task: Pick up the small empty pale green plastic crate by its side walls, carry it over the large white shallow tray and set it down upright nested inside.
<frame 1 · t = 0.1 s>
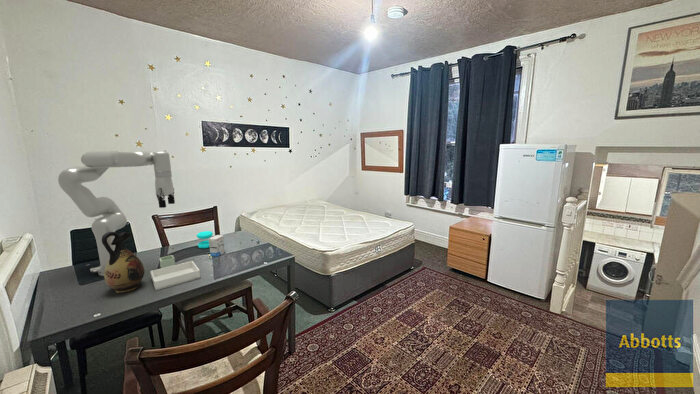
hand: (167, 205, 154), 37 cm above the table, tool pointing down, fingers open, 9 cm apart
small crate: (168, 267, 162), on the table
donuts: (206, 246, 195), on the table
white shallow tray: (176, 278, 149), on the table
ceramic jug: (125, 289, 138), on the table
ink box: (217, 254, 182), on the table
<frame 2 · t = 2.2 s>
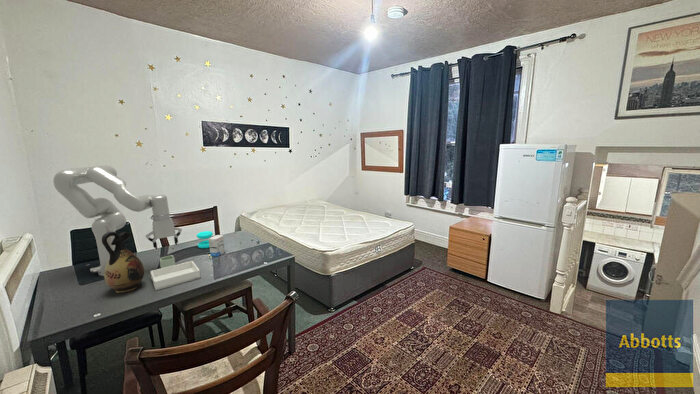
hand: (166, 246, 159), 13 cm above the table, tool pointing down, fingers open, 9 cm apart
nothing on the table moved.
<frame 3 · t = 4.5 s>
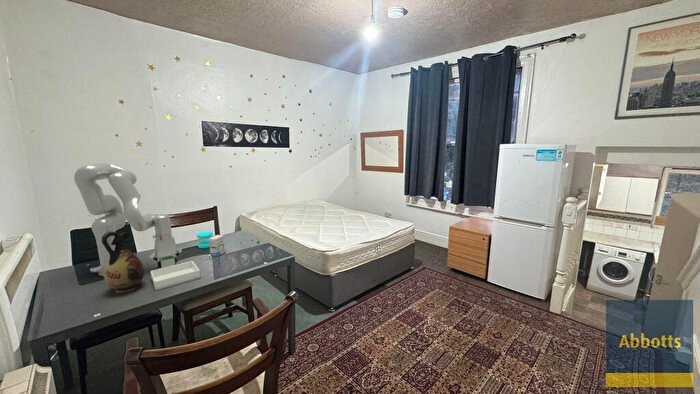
hand: (167, 265, 161), 1 cm above the table, tool pointing down, fingers closed on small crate, 6 cm apart
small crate: (168, 267, 162), on the table, touching gripper
everything else where it was.
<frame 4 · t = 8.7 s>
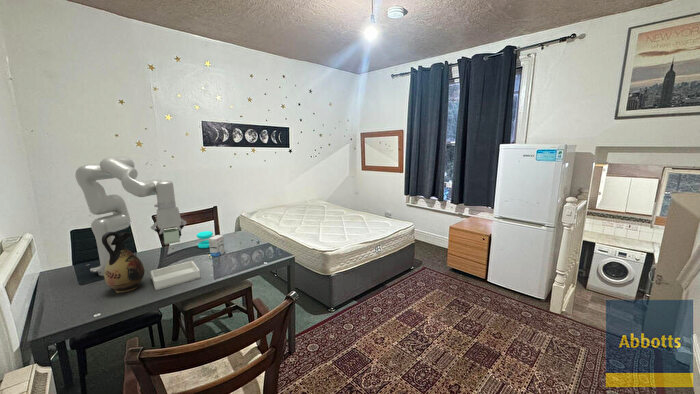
hand: (171, 238, 145), 22 cm above the table, tool pointing down, fingers closed on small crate, 6 cm apart
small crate: (171, 241, 145), point 21 cm above the table, touching gripper
everything else where it was.
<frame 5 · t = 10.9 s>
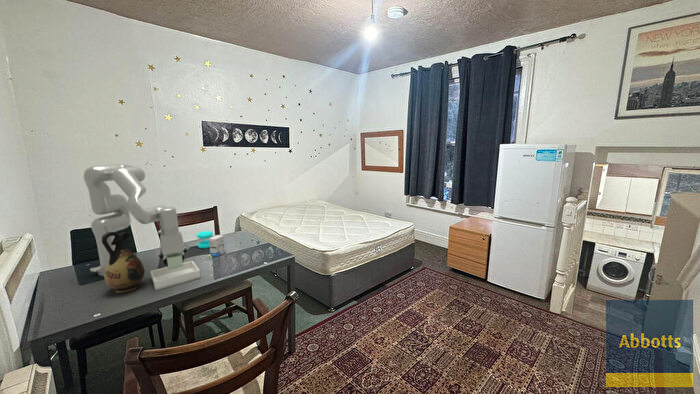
hand: (174, 263, 147), 9 cm above the table, tool pointing down, fingers closed on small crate, 6 cm apart
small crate: (174, 266, 147), point 7 cm above the table, touching gripper
everything else where it was.
when the fingers open (4 cm above the table, at t = 12.8 s): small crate drops 2 cm, resting on white shallow tray.
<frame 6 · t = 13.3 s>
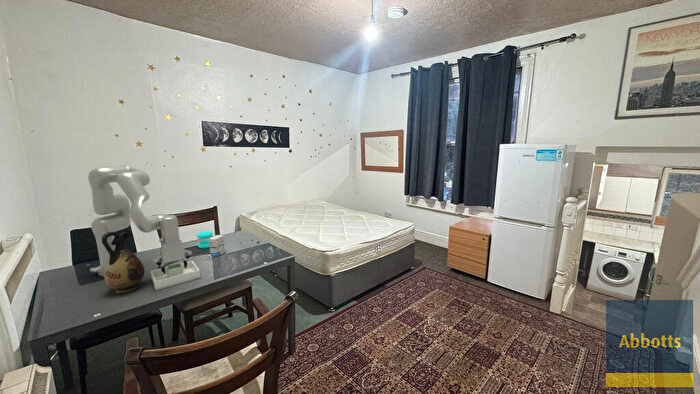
hand: (175, 270, 148), 5 cm above the table, tool pointing down, fingers open, 9 cm apart
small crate: (175, 276, 149), point 1 cm above the table, touching white shallow tray
everything else where it was.
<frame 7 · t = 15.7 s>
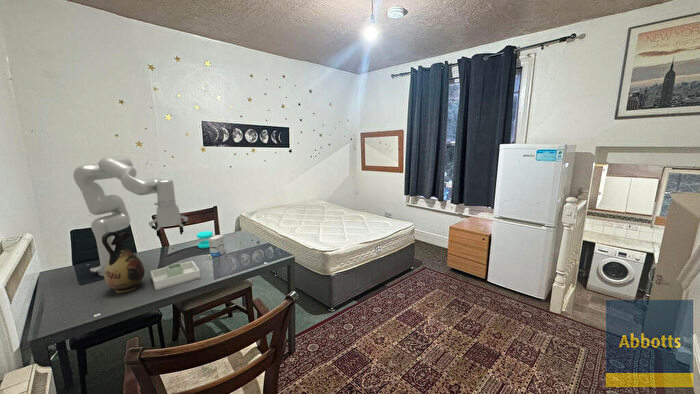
hand: (170, 235, 146), 23 cm above the table, tool pointing down, fingers open, 9 cm apart
nothing on the table moved.
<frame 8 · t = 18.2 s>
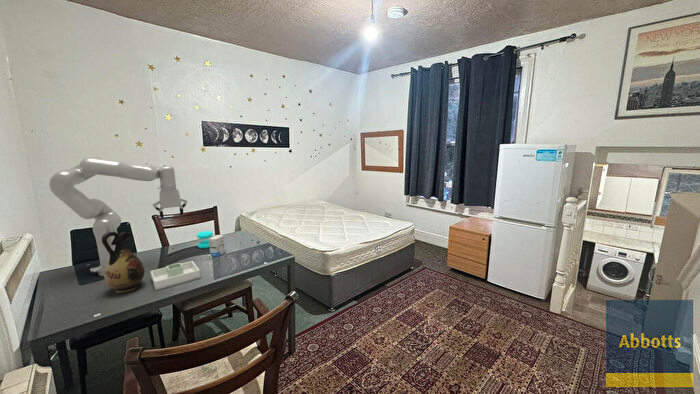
hand: (172, 216, 165), 28 cm above the table, tool pointing down, fingers open, 9 cm apart
nothing on the table moved.
at the end: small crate inside the target area on the white shallow tray (0.0 cm from its centre), point 1.0 cm above the white shallow tray's base; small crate tilted 0°; the gripper is holding nothing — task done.
